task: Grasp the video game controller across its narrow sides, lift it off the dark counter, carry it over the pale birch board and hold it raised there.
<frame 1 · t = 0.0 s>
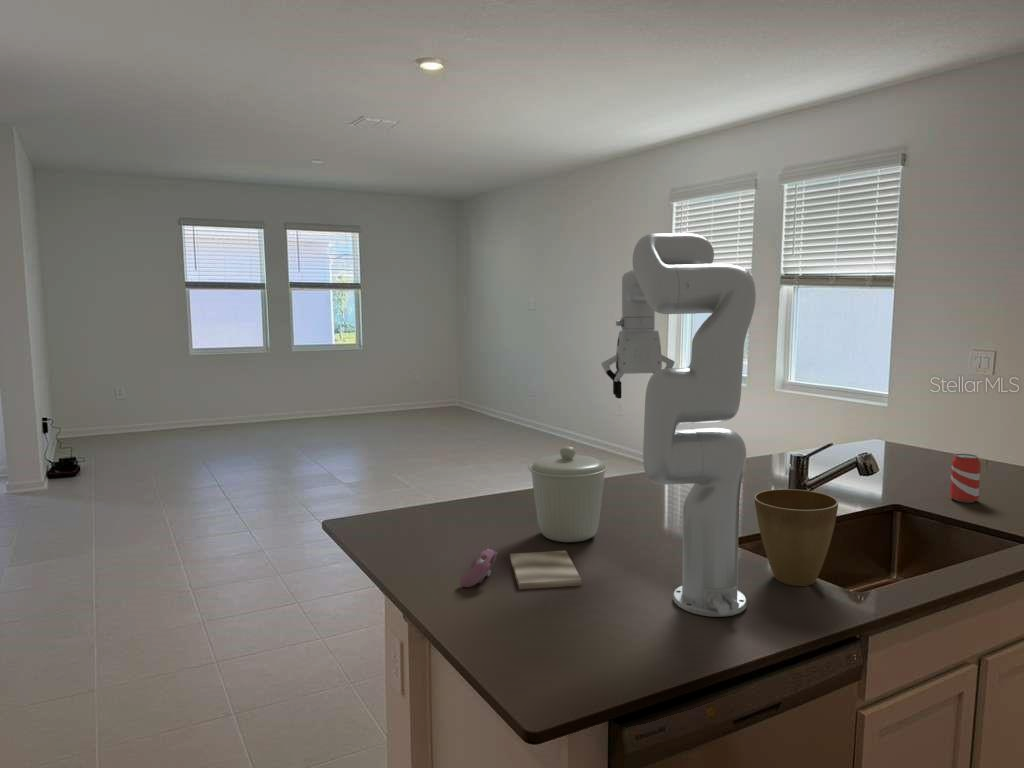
hand: (638, 397, 167), 31 cm above the worktop, tool pointing down, fingers open, 9 cm apart
beverage can: (963, 500, 186), on the worktop
canister: (568, 536, 164), on the worktop
plant pot: (793, 579, 136), on the worktop
video game controller: (480, 580, 139), on the worktop
birch board: (544, 571, 142), on the worktop
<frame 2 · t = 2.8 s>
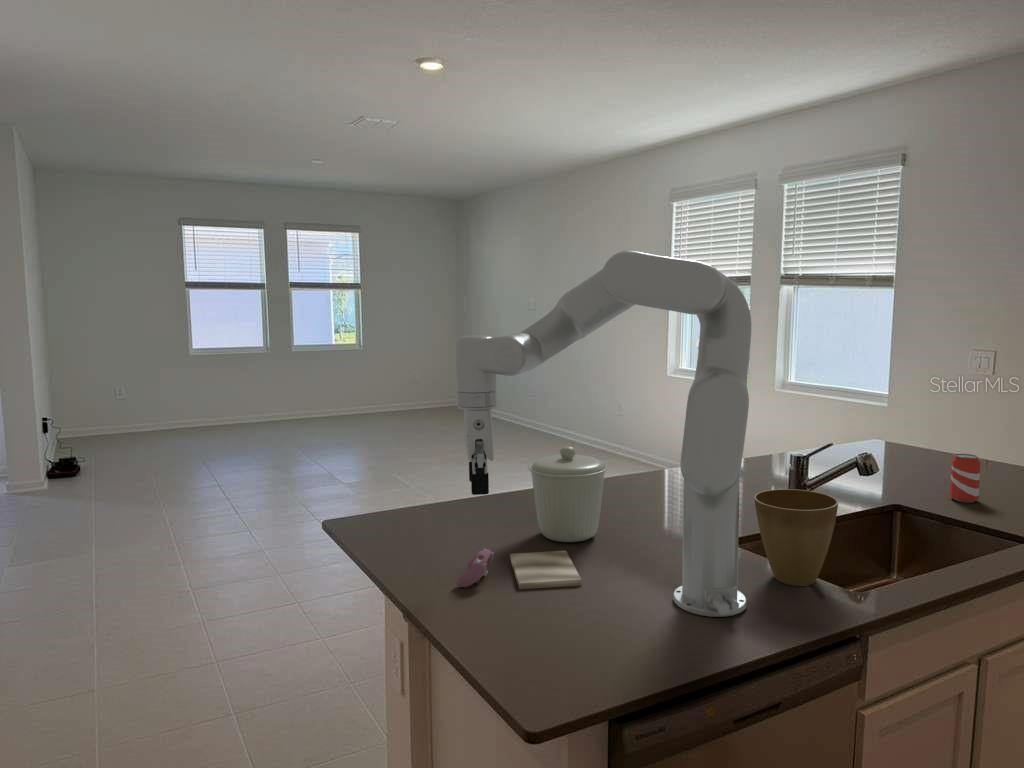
hand: (478, 487, 137), 18 cm above the worktop, tool pointing down, fingers open, 9 cm apart
nothing on the worktop moved.
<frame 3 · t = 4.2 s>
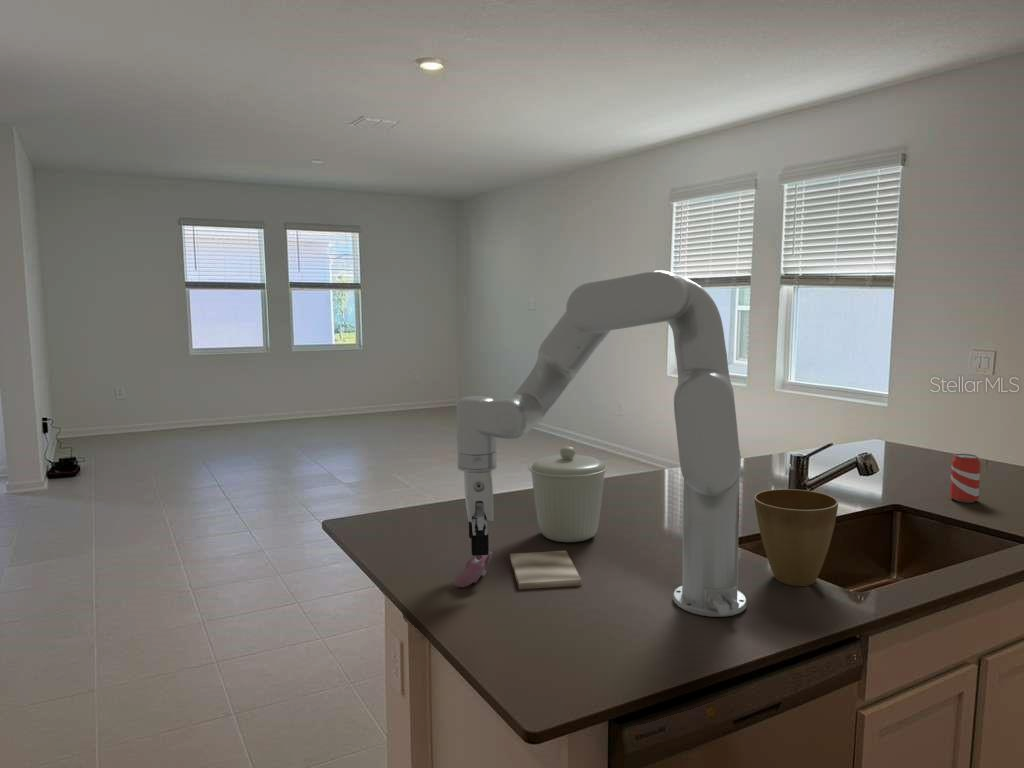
hand: (478, 546, 138), 7 cm above the worktop, tool pointing down, fingers open, 9 cm apart
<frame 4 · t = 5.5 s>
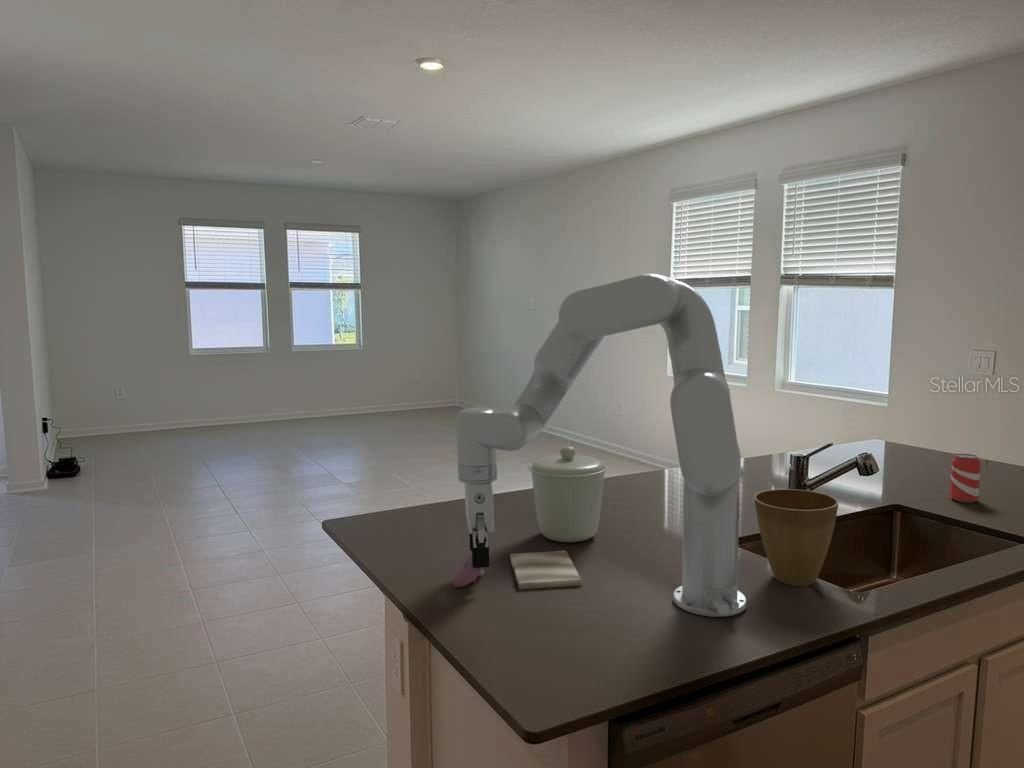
hand: (479, 558, 138), 4 cm above the worktop, tool pointing down, fingers closed on video game controller, 8 cm apart
video game controller: (473, 580, 139), on the worktop, touching gripper
everything else where it was.
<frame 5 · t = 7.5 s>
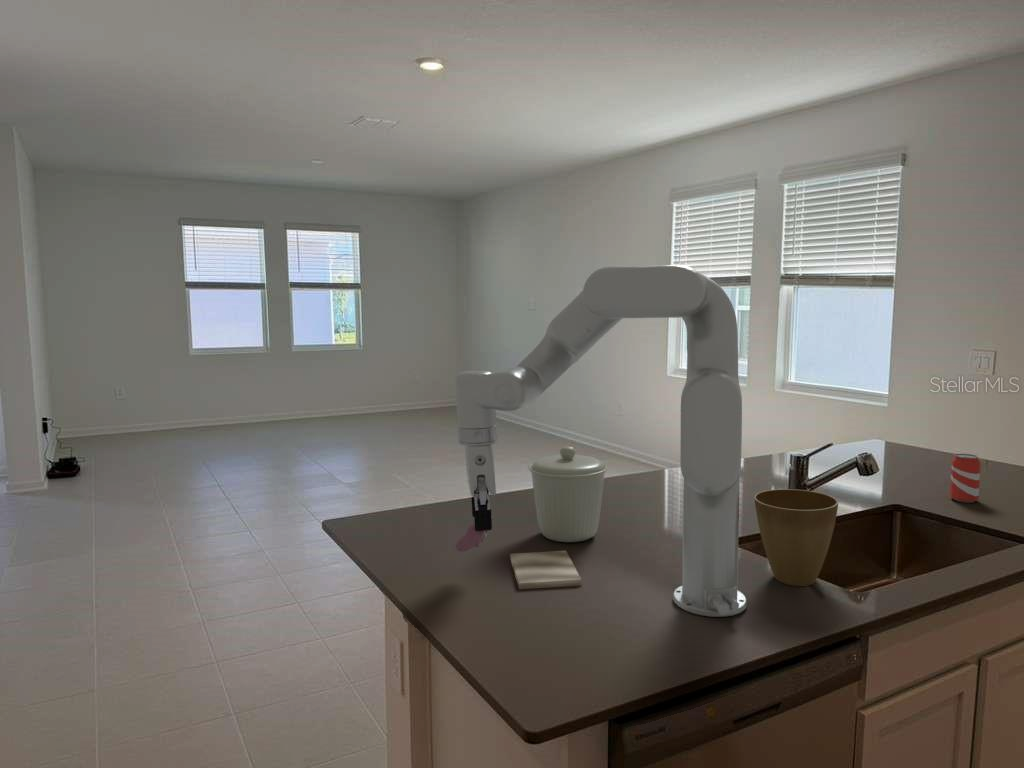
hand: (481, 522, 137), 12 cm above the worktop, tool pointing down, fingers closed on video game controller, 8 cm apart
video game controller: (476, 545, 138), point 7 cm above the worktop, touching gripper
everything else where it was.
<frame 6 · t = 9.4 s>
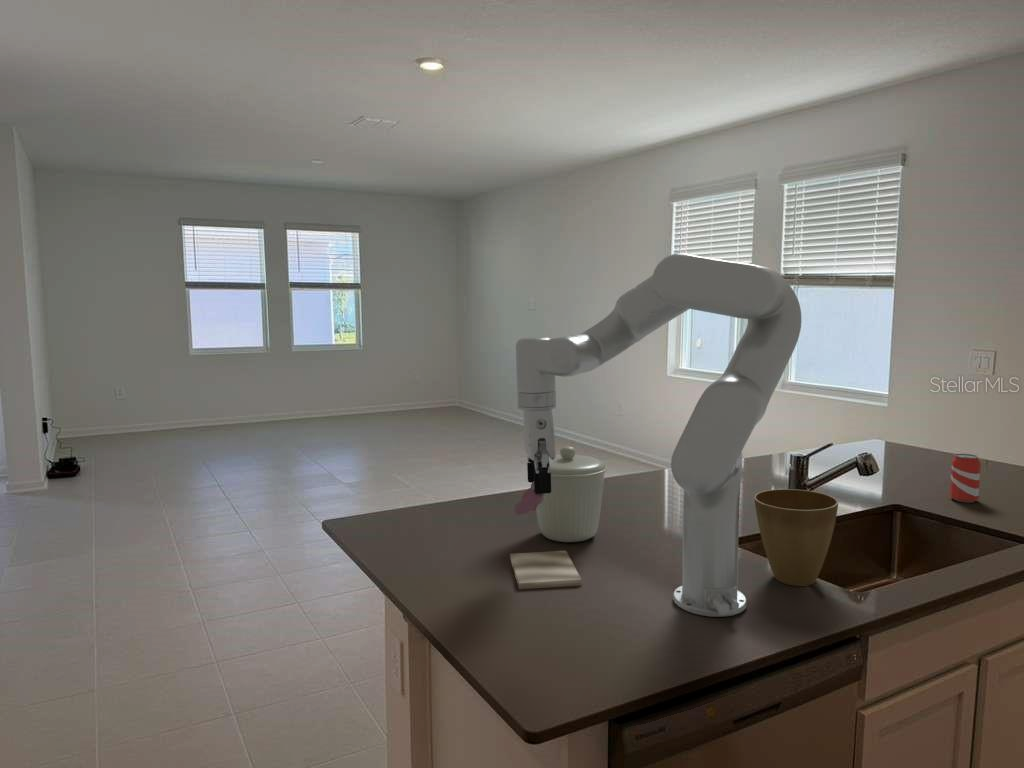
hand: (539, 487, 140), 18 cm above the worktop, tool pointing down, fingers closed on video game controller, 8 cm apart
video game controller: (533, 509, 141), point 13 cm above the worktop, touching gripper
everything else where it was.
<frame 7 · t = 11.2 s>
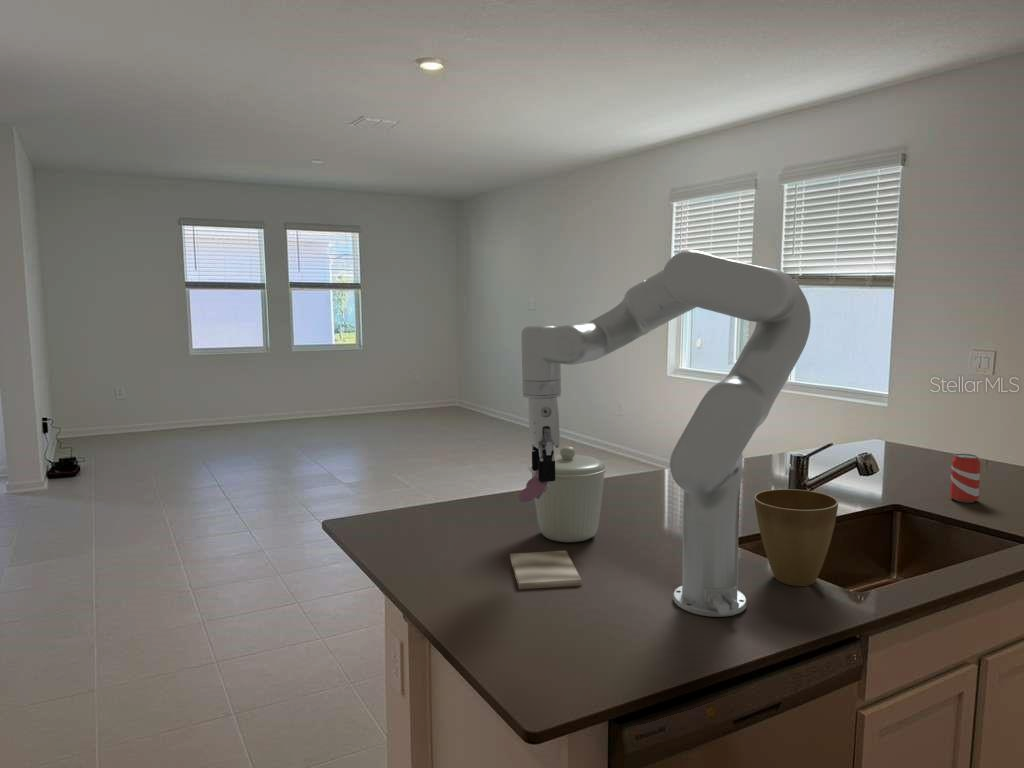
hand: (543, 475, 140), 20 cm above the worktop, tool pointing down, fingers closed on video game controller, 8 cm apart
video game controller: (537, 497, 141), point 15 cm above the worktop, touching gripper
everything else where it was.
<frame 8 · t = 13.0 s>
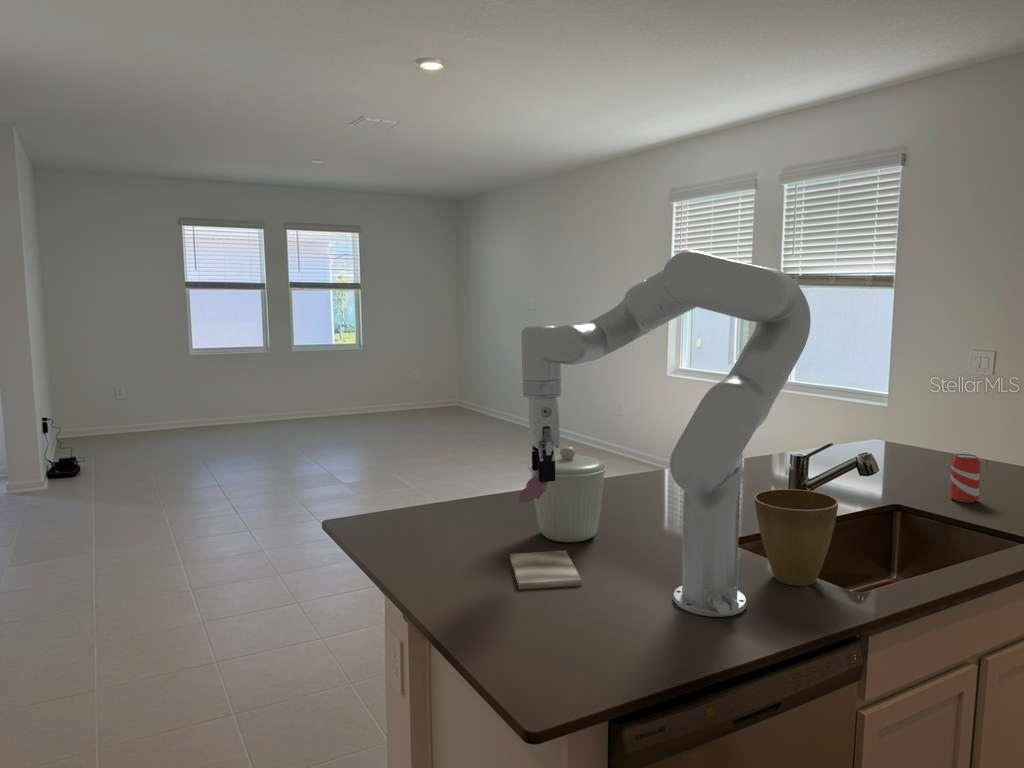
hand: (543, 475, 140), 20 cm above the worktop, tool pointing down, fingers closed on video game controller, 8 cm apart
video game controller: (537, 497, 141), point 15 cm above the worktop, touching gripper
everything else where it was.
at the end: the gripper is holding video game controller; video game controller point 15.3 cm above the worktop; video game controller inside the target area on the birch board (1.1 cm from its centre), point 15.3 cm above the birch board's base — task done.
